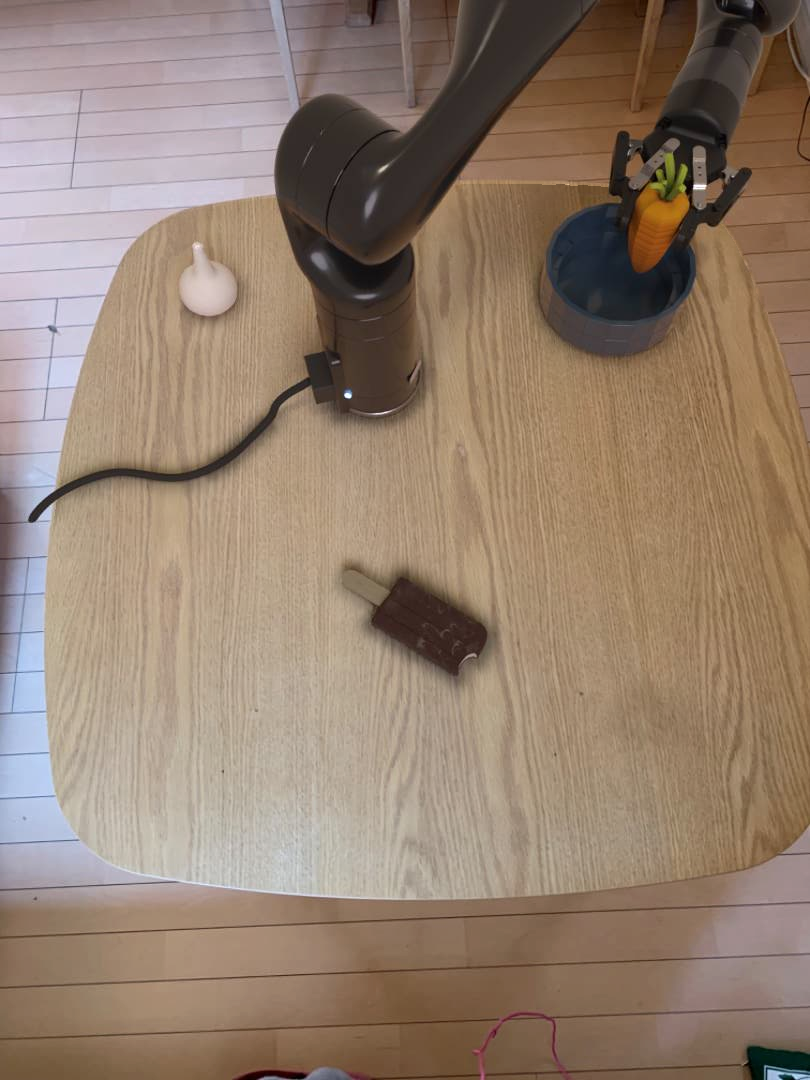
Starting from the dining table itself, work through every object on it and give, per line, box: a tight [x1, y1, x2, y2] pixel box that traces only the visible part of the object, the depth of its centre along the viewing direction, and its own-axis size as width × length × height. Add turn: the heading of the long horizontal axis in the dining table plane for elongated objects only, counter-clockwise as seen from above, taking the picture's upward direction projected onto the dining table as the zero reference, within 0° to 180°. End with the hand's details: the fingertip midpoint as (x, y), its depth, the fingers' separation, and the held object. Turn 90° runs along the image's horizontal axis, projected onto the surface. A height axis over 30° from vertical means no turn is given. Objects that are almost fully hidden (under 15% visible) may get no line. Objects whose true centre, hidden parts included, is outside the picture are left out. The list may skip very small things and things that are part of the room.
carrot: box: [628, 153, 689, 274], centre depth 83 cm, size 5×5×15 cm
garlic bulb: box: [178, 241, 239, 317], centre depth 90 cm, size 6×6×8 cm
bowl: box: [539, 202, 697, 356], centre depth 90 cm, size 15×15×6 cm
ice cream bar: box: [341, 569, 488, 677], centre depth 80 cm, size 5×2×15 cm
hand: (650, 236), depth 81 cm, fingers closed on carrot, 5 cm apart
